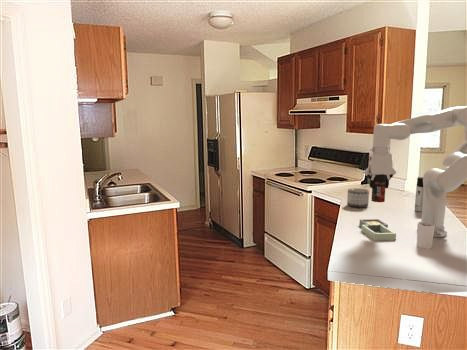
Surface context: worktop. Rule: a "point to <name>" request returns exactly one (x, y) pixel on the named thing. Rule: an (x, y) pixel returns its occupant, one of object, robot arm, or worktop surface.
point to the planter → (358, 197)
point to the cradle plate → (372, 222)
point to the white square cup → (425, 234)
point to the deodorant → (379, 188)
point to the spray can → (419, 195)
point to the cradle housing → (362, 222)
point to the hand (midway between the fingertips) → (378, 187)
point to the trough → (385, 234)
